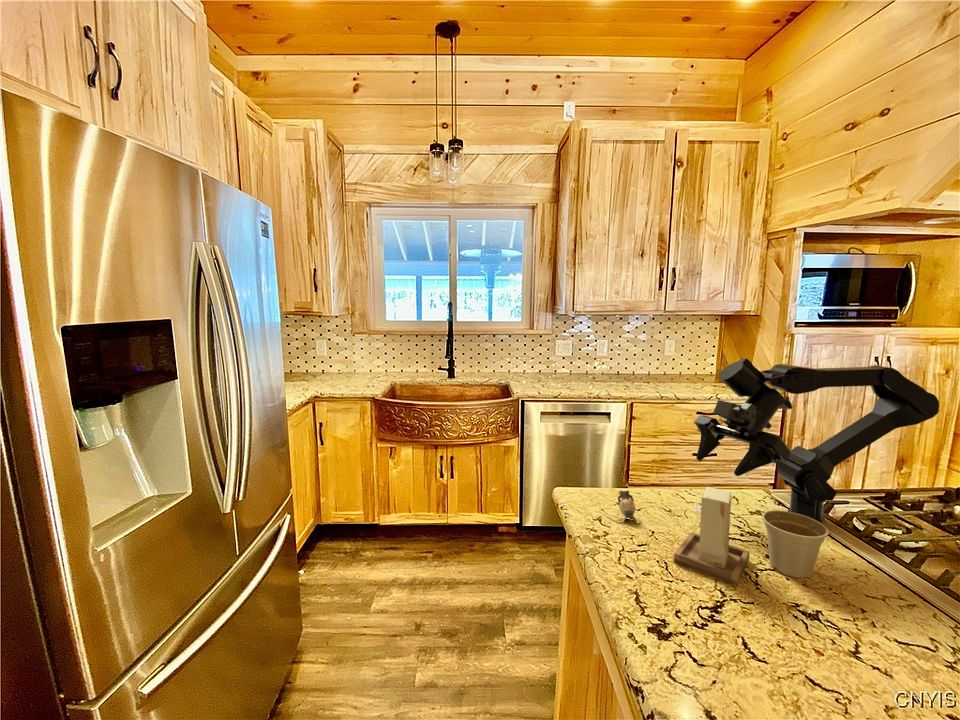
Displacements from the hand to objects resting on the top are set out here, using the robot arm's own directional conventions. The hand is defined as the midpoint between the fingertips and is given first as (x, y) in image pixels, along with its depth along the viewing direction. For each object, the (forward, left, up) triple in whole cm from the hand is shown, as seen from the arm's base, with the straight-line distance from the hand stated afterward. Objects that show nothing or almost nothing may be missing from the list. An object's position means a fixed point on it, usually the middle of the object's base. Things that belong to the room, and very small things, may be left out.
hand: (715, 466), depth 86 cm
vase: (+8, -16, -14) cm, 22 cm away
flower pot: (+6, +14, -14) cm, 21 cm away
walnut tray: (+14, +3, -13) cm, 19 cm away
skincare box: (+13, +3, -13) cm, 19 cm away
